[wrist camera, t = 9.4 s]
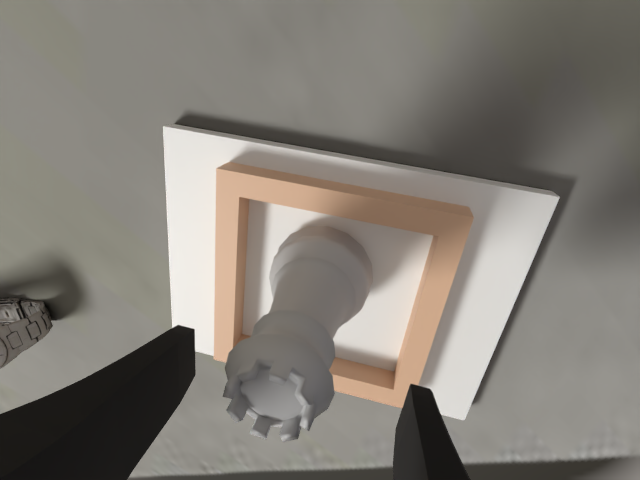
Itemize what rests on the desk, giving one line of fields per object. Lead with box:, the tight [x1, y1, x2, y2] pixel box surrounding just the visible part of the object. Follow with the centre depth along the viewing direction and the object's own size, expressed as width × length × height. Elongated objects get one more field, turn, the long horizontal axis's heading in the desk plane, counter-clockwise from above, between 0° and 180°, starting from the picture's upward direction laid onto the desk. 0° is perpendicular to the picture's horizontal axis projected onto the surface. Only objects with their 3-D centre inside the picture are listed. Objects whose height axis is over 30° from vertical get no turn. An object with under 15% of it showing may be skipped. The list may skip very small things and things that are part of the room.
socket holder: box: [163, 124, 560, 420], centre depth 17 cm, size 16×12×2 cm
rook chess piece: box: [223, 226, 373, 442], centre depth 14 cm, size 4×4×8 cm
